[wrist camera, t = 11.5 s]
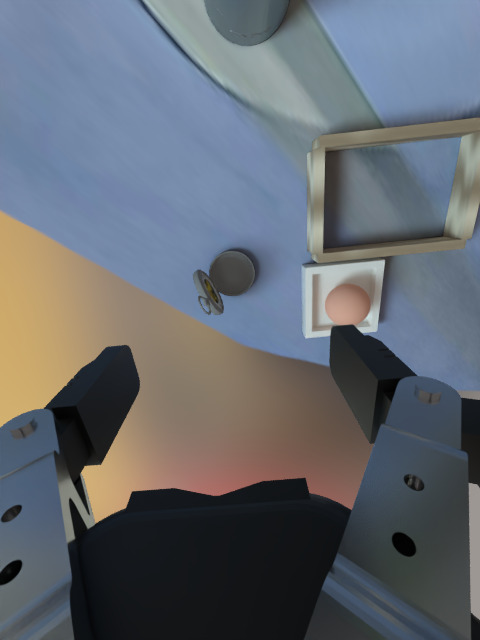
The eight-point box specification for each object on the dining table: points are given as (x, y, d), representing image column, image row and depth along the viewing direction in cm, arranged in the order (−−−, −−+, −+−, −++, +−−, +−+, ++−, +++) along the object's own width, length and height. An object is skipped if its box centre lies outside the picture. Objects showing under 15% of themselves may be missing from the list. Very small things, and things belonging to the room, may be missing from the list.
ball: (320, 281, 40) (333, 293, 34) (361, 277, 40) (381, 288, 34) (319, 318, 42) (332, 335, 37) (358, 314, 42) (376, 331, 36)
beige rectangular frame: (307, 142, 34) (314, 136, 30) (474, 123, 33) (499, 115, 30) (307, 258, 39) (313, 263, 36) (449, 244, 39) (469, 247, 35)
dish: (301, 264, 40) (305, 268, 38) (377, 257, 39) (385, 260, 37) (302, 332, 44) (305, 338, 42) (370, 325, 44) (377, 331, 42)
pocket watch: (262, 263, 39) (270, 281, 30) (236, 310, 42) (236, 340, 33) (211, 236, 38) (204, 246, 29) (188, 287, 41) (174, 311, 32)
